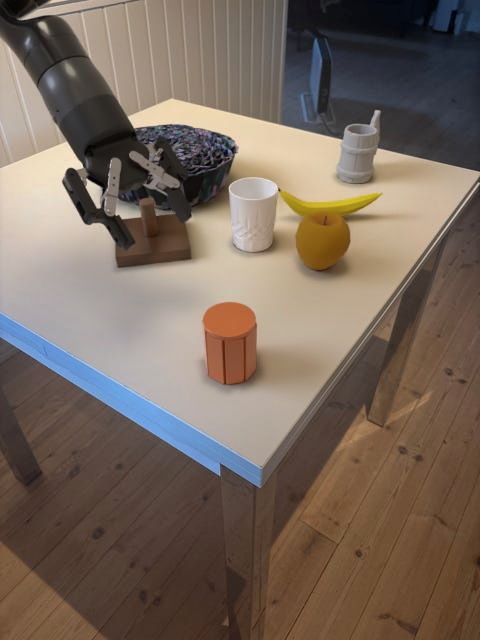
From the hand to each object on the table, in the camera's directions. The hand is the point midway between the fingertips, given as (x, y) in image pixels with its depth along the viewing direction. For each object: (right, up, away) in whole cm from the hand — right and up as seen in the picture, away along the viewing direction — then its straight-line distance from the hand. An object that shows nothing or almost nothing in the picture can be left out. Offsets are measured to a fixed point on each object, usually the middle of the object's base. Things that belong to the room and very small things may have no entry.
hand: (160, 233), depth 58 cm
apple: (+22, -2, +21) cm, 30 cm away
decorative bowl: (-5, +17, +42) cm, 45 cm away
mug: (+35, +21, +46) cm, 61 cm away
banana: (+26, +8, +32) cm, 42 cm away
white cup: (+12, +3, +26) cm, 29 cm away
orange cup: (+8, -16, +4) cm, 19 cm away
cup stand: (-6, +3, +26) cm, 26 cm away
